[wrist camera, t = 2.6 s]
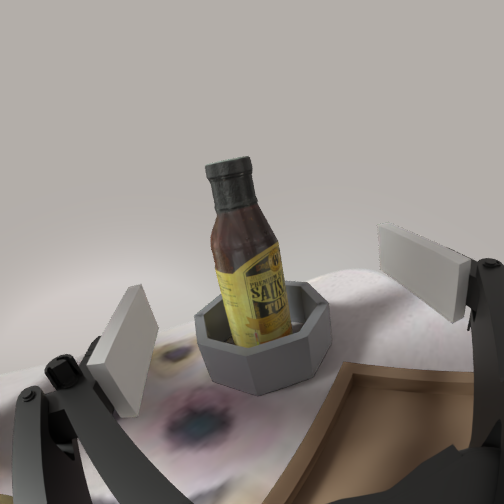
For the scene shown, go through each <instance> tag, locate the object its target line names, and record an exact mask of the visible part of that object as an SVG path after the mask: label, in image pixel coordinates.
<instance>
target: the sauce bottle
mask: <svg viewBox="0 0 504 504" xmlns="http://www.w3.org/2000/svg"><path fill="white" fill-rule="evenodd" d="M205 169H206V175H207V179H208V180H209V181H210V183H211V187H212V193H213V198H214V203H215V210H216V213H217V218H216V221H215V224H214V227H213V229H212V234H211V250H212V253H213V257H214V262H215V270H216V274H217V278H218V282H219V286H220V290H221V294H222V298H223V302H224V306H225V310H226V314H227V318H228V322H229V326H230V329H231V333H232V337H233V341H234V344H235V345H237V346H241V347H245V348H250V347H254V346H257V345H260V344H263V343H266V342H270V341H273V340H276V339H279V338H282V337H285V336H288V335H291V334H293V332H292V324H291V318H290V311H289V305H288V299H287V292H286V286H285V280H284V274H283V268H282V261H281V255H280V249H279V243H278V240H277V238H276V237H275V235H274V233H273V231H272V229H271V228H270V225H269V224H268V222H267V220H266V218H265V216H264V215H263V213H262V211H261V209H260V207H259V206H258V204H257V201H258V200H257V198H256V196H255V191H254V185H253V180H252V164H251V160H250V157H248V156H245V157H239V158H234V159H228V160H223V161H219V162H215V163H210V164H207V165H205Z"/></svg>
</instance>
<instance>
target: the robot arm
mask: <svg viewBox="0 0 504 504" xmlns="http://www.w3.org/2000/svg"><path fill="white" fill-rule="evenodd" d="M377 228H378V241H379V258H380V270H381V271H383V272H384V273H386V274H387V275H388V276H390V277H391V278H393V279H394V280H395V281H397V282H398V283H399V284H401V285H402V286H404V287H405V288H406V289H408V290H409V291H410V292H412V293H413V294H414V295H416V296H417V297H418V298H420V299H421V300H422V301H424V302H425V303H426V304H428V305H429V306H430V307H432V308H433V309H434V310H435V311H437V312H438V313H439V314H441V315H442V316H443V317H444V318H446V319H447V320H448V321H450V322H451V323H452V324H453V323H454V322H456V321H458V320H460V319H462V318H464V313H465V306H466V305H467V306H469V307H470V308H471V313H470V318H469V324H468V329H467V331H469V330H470V327H471V332H472V345H473V364H474V403H473V422H472V433H471V440H470V444H469V447H468V448H466V449H463V450H459V451H458V450H457V449H456V447H455V446H454V445H453V444H452V445H450V446H449V447H447V448H446V449H444V450H442V451H441V452H439V453H437V454H436V455H434V456H432V457H431V458H429V459H427V460H426V461H424V462H422V463H421V464H419V465H418V466H417V467H416V468H415V469H414V470H413V471H411V472H410V473H409V474H408V475H407V476H405V477H404V478H403V479H402V480H400V481H399V482H398V483H397V484H395V485H394V486H393V487H391V488H390V489H388V490H386V491H382V492H378V493H373V494H368V495H362V496H356V497H350V498H343V499H339V500H336V501H333V502H330V503H327V504H504V265H503V264H502V263H501V262H500V261H498V260H495V259H490V258H485V259H481V260H479V261H478V262H477V261H475V260H472V259H471V258H469V257H467V256H465V255H463V254H462V255H461V254H460V253H458V252H455V251H454V250H452V249H450V248H447V247H444V246H442V245H440V244H438V243H436V242H433V241H431V240H429V239H427V238H424V237H422V236H420V235H418V234H415V233H413V232H411V231H408V230H406V229H404V228H401V227H399V226H396V225H394V224H392V223H389V222H386V223H382V224H379V225H377ZM158 329H159V327H158V325H157V322H156V320H155V318H154V315H153V313H152V310H151V308H150V305H149V302H148V300H147V297H146V295H145V292H144V290H143V287H142V285H141V284H140V285H136V286H132V287H129V288H128V289H127V291H126V293H125V295H124V296H123V298H122V300H121V301H120V303H119V305H118V307H117V308H116V310H115V312H114V314H113V315H112V317H111V319H110V321H109V323H108V325H107V327H106V328H105V330H104V332H103V334H102V336H98V337H97V338H96V339H95V340H94V341H93V342H92V343H91V345H90V347H89V349H88V351H87V352H86V354H85V357H84V358H83V360H82V361H81V363H80V365H79V366H78V364H77V363H76V361H75V359H74V358H73V356H71V355H68V354H65V355H60V356H59V357H56V358H54V359H53V360H52V361H51V362H49V363H48V365H47V366H46V368H45V374H46V376H47V377H48V379H49V380H50V382H51V383H52V385H53V386H54V388H55V389H56V391H54V392H51V393H48V394H44V393H43V391H42V390H41V388H40V387H38V386H31V387H29V388H26V389H24V391H22V392H21V394H20V395H19V396H18V399H17V403H16V411H15V420H14V431H13V447H12V489H13V504H92V501H91V497H90V494H89V490H88V486H87V483H86V479H85V475H84V471H83V466H82V462H81V457H80V452H79V447H78V441H77V438H79V440H80V442H81V444H82V445H83V447H84V449H85V451H86V453H87V454H88V456H89V458H90V459H91V461H92V463H93V465H94V466H95V468H96V469H97V471H98V473H99V474H100V476H101V477H102V479H103V480H104V482H105V483H106V485H107V486H108V488H109V489H110V491H111V492H112V494H113V495H114V497H115V498H116V499H117V501H118V502H119V503H120V504H194V503H192V502H191V501H190V500H189V499H188V498H187V497H186V496H185V495H183V494H182V493H181V492H180V491H179V490H178V489H177V488H176V487H175V486H174V485H173V484H172V483H171V482H170V481H169V480H168V479H167V478H166V477H165V476H164V475H163V474H162V473H161V472H160V471H159V470H158V469H157V468H156V467H155V466H154V465H153V464H152V463H151V462H150V461H149V460H148V458H147V457H146V456H145V455H144V454H143V453H142V452H141V451H140V449H139V448H138V447H137V446H136V445H135V444H134V442H133V441H132V440H131V439H130V438H129V436H128V435H127V434H126V433H125V432H124V430H123V429H122V428H121V427H120V425H119V424H118V423H117V421H116V420H115V419H114V418H113V416H112V414H113V411H114V409H115V410H116V412H117V413H118V414H119V416H120V417H121V418H129V417H138V415H139V410H140V405H141V401H142V396H143V391H144V387H145V382H146V378H147V374H148V369H149V365H150V361H151V357H152V353H153V349H154V345H155V341H156V337H157V333H158Z"/></svg>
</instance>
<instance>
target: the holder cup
mask: <svg viewBox="0 0 504 504" xmlns="http://www.w3.org/2000/svg"><path fill="white" fill-rule="evenodd" d="M285 286H286V292H287V299H288V305H289V311H290V318H291V321H293V322H301V323H305V324H304V325H303V327H302V328H301V330H300V331H299V332H297V333H294V334H291V335H288V336H285V337H282V338H279V339H276V340H273V341H270V342H266V343H263V344H260V345H257V346H254V347H250V348H245V347H241V346H237V345H233V344H228V343H224V342H225V341H226V340H227V339H228V338H229V337H230V336H231V335H232V333H231V329H230V326H229V322H228V318H227V314H226V310H225V306H224V302H223V298H222V294H220V295H219V296H218V297H216V298H215V299H214V300H213V301H212V302H210V303H209V304H208V305H207V306H205V307H204V308H203V309H202V310H200V311H199V312H198V313H197V314H196V315H195V316H194V318H195V327H196V336H197V344H198V346H199V349H200V352H201V354H202V357H203V359H204V362H205V364H206V367H207V369H208V372H209V374H210V377H211V379H212V381H213V382H216V383H219V384H222V385H225V386H228V387H231V388H234V389H237V390H240V391H243V392H246V393H249V394H253V395H256V396H259V395H263V394H266V393H269V392H272V391H275V390H278V389H281V388H284V387H287V386H290V385H293V384H296V383H298V382H301V381H304V380H307V379H309V378H312V377H313V376H314V374H315V373H316V371H317V369H318V367H319V365H320V364H321V362H322V360H323V358H324V356H325V354H326V353H327V351H328V349H329V347H330V345H331V343H332V336H331V324H330V312H329V303H328V302H327V301H326V300H325V299H324V298H323V297H322V296H321V295H320V294H319V293H318V292H317V291H316V290H315V289H314V288H313V287H312V286H311V285H310V284H309V283H308V282H295V281H285Z"/></svg>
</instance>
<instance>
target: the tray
mask: <svg viewBox="0 0 504 504" xmlns="http://www.w3.org/2000/svg"><path fill="white" fill-rule="evenodd" d="M473 403H474V372H453V371H432V370H417V369H405V368H394V367H384V366H375V365H366V364H358V363H351V362H343V364H342V366H341V368H340V370H339V372H338V375H337V377H336V379H335V381H334V383H333V385H332V387H331V389H330V391H329V393H328V395H327V397H326V399H325V401H324V403H323V405H322V407H321V409H320V410H319V412H318V414H317V416H316V418H315V420H314V422H313V423H312V425H311V427H310V429H309V431H308V432H307V434H306V436H305V438H304V439H303V441H302V443H301V444H300V446H299V448H298V449H297V451H296V453H295V454H294V456H293V458H292V459H291V461H290V462H289V464H288V466H287V467H286V469H285V470H284V472H283V473H282V475H281V476H280V478H279V479H278V481H277V482H276V484H275V485H274V487H273V488H272V490H271V491H270V493H269V494H268V496H267V497H266V498H265V500H264V501H263V503H262V504H327V503H330V502H333V501H336V500H339V499H343V498H350V497H356V496H362V495H368V494H373V493H378V492H382V491H386V490H388V489H390V488H391V487H393V486H394V485H395V484H397V483H398V482H399V481H400V480H402V479H403V478H404V477H405V476H407V475H408V474H409V473H410V472H411V471H413V470H414V469H415V468H416V467H417V466H418V465H419V464H421V463H422V462H424V461H426V460H427V459H429V458H431V457H432V456H434V455H436V454H437V453H439V452H441V451H442V450H444V449H446V448H447V447H449V446H450V445H452V444H453V445H454V446H455V447H456V449H457V450H458V451H459V450H463V449H466V448H468V447H469V444H470V440H471V433H472V422H473Z"/></svg>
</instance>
